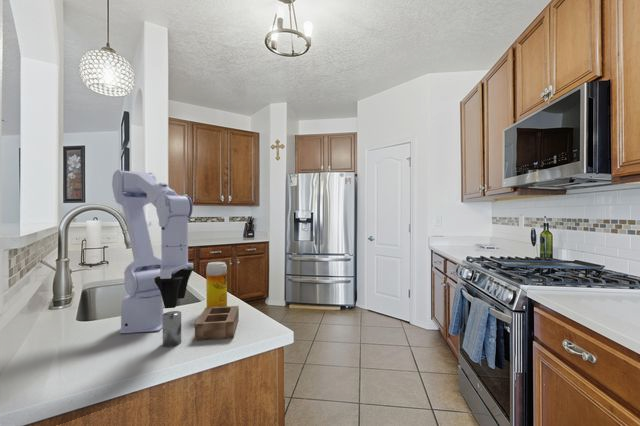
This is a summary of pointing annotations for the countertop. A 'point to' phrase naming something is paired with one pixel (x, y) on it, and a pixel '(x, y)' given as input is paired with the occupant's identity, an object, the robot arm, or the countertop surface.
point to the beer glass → (216, 284)
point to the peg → (171, 328)
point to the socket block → (217, 323)
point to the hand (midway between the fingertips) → (175, 302)
